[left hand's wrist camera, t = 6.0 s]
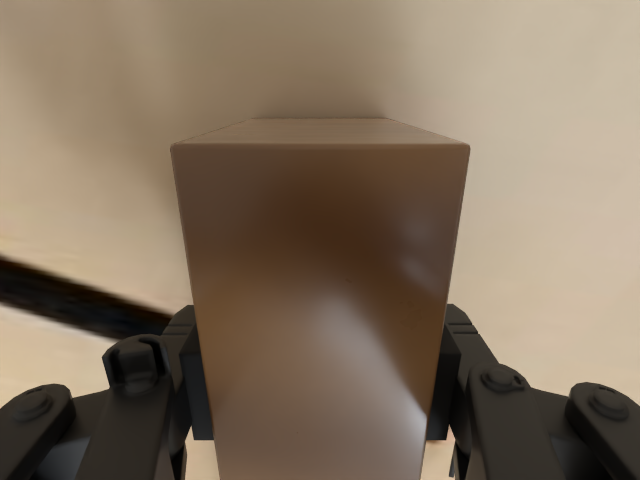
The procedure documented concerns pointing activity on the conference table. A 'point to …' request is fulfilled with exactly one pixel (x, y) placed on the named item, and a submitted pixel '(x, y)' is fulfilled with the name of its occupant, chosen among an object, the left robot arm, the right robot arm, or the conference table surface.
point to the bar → (320, 290)
